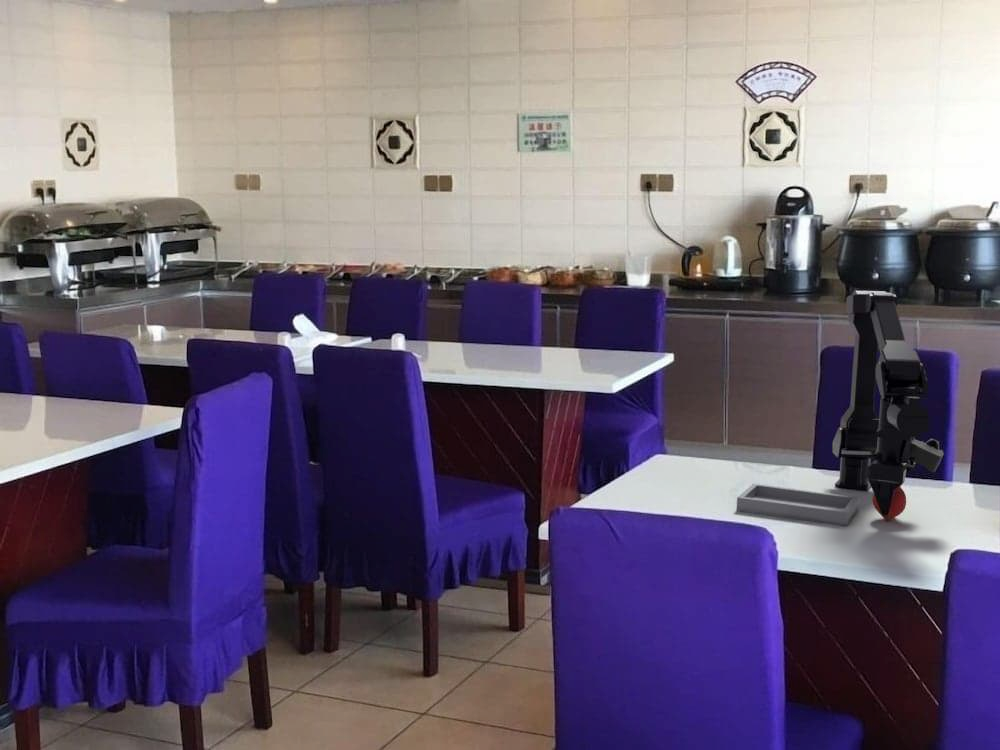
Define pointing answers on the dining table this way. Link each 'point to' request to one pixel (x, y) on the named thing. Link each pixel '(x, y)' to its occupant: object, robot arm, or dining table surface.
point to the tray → (798, 504)
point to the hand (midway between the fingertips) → (888, 509)
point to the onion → (893, 504)
